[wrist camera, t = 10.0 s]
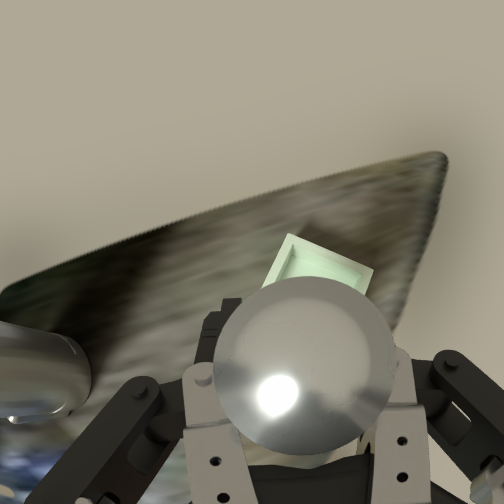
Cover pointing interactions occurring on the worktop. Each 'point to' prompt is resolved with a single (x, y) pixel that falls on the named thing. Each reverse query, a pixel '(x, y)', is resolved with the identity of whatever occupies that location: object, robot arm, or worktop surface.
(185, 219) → the worktop surface
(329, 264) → the bin
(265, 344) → the shiny silver cylinder
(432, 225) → the worktop surface
